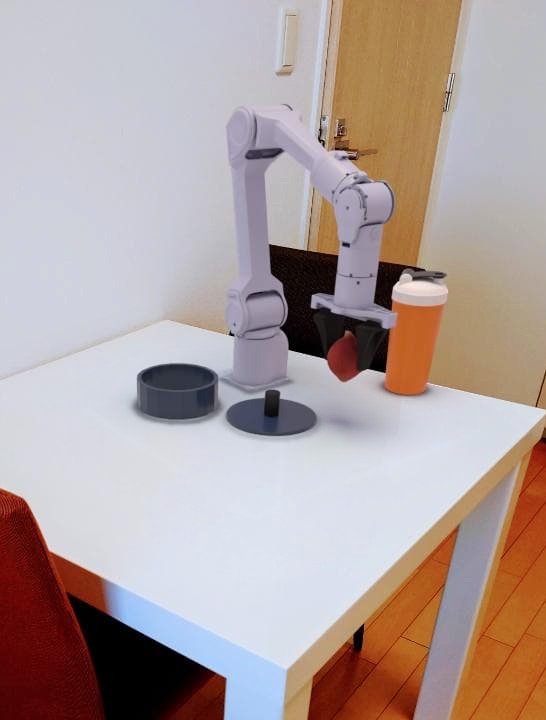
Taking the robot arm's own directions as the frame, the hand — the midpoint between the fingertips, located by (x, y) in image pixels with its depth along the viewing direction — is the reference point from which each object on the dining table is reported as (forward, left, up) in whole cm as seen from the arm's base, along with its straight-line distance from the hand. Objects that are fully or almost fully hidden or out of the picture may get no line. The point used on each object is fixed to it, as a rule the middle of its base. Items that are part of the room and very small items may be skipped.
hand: (346, 364), depth 124 cm
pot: (+17, -21, -10) cm, 29 cm away
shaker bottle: (-21, -5, -10) cm, 24 cm away
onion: (0, 0, -3) cm, 3 cm away
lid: (+8, -8, -10) cm, 14 cm away
